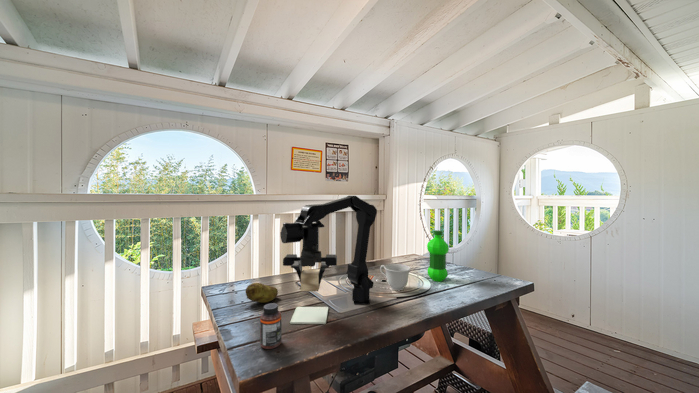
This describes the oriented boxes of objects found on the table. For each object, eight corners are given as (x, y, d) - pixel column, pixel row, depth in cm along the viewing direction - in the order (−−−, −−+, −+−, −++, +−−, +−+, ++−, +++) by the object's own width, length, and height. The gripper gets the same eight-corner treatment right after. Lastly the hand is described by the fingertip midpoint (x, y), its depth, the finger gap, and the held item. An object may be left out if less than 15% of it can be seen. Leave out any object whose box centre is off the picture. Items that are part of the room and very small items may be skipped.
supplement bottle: (262, 338, 81) (262, 301, 81) (282, 338, 82) (283, 301, 81) (257, 350, 75) (257, 310, 75) (279, 349, 76) (279, 309, 75)
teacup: (386, 281, 134) (386, 261, 134) (414, 287, 125) (414, 266, 125) (373, 288, 124) (373, 266, 124) (403, 295, 115) (403, 272, 115)
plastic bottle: (428, 282, 132) (429, 232, 132) (425, 276, 143) (426, 229, 142) (449, 284, 131) (450, 232, 130) (445, 277, 141) (446, 229, 141)
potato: (280, 302, 107) (280, 283, 107) (246, 308, 102) (246, 287, 102) (276, 295, 115) (276, 277, 115) (244, 300, 109) (244, 281, 109)
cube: (319, 285, 99) (319, 269, 99) (318, 291, 93) (318, 274, 93) (303, 285, 99) (303, 269, 99) (300, 291, 93) (300, 274, 93)
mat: (328, 308, 102) (328, 306, 102) (325, 324, 90) (325, 322, 90) (296, 308, 102) (296, 306, 102) (290, 323, 90) (290, 322, 90)
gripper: (278, 244, 88) (278, 292, 88) (335, 245, 88) (335, 292, 88) (286, 238, 99) (286, 280, 99) (337, 239, 99) (337, 281, 99)
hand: (310, 283), depth 96 cm, fingers closed on cube, 6 cm apart
